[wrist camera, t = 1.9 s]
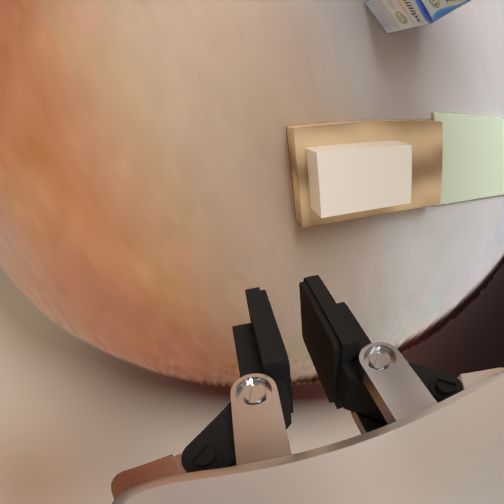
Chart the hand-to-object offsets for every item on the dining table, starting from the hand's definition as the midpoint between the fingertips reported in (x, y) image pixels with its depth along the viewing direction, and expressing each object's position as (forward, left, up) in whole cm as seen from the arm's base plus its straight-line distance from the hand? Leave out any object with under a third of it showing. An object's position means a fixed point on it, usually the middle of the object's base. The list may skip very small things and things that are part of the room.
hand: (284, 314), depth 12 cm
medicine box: (-19, +21, -21) cm, 36 cm away
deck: (0, +15, -21) cm, 26 cm away
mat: (0, +34, -21) cm, 40 cm away
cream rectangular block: (0, +12, -19) cm, 22 cm away
